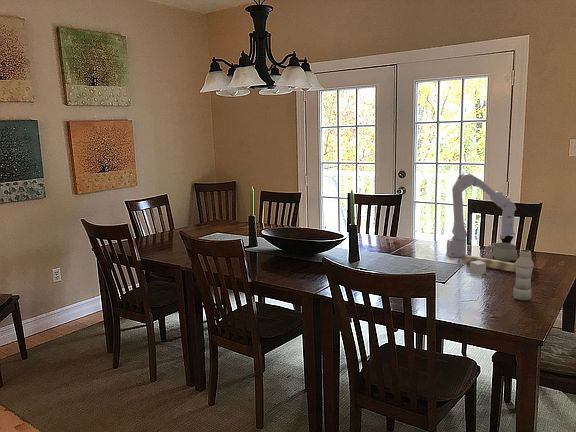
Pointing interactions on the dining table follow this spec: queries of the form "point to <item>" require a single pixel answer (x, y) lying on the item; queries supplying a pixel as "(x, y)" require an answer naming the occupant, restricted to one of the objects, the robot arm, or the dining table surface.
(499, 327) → the dining table surface
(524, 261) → the plastic bottle
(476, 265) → the grey block
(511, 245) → the teacup
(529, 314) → the dining table surface
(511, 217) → the robot arm
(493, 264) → the bar
